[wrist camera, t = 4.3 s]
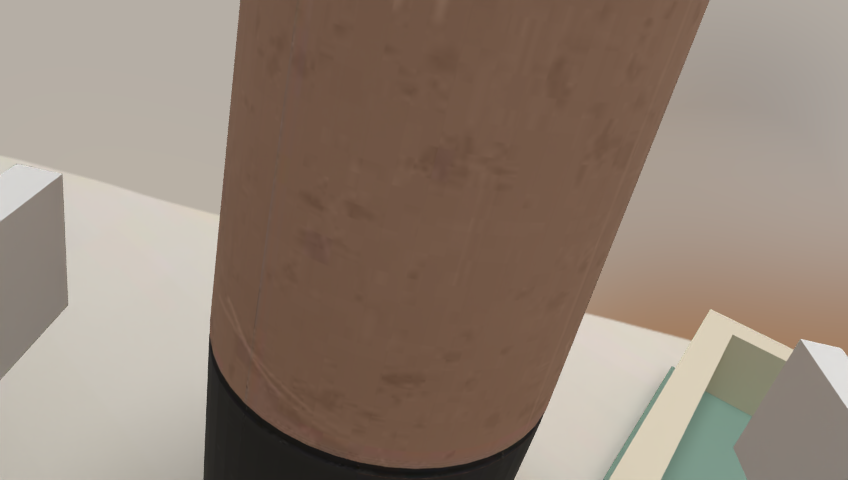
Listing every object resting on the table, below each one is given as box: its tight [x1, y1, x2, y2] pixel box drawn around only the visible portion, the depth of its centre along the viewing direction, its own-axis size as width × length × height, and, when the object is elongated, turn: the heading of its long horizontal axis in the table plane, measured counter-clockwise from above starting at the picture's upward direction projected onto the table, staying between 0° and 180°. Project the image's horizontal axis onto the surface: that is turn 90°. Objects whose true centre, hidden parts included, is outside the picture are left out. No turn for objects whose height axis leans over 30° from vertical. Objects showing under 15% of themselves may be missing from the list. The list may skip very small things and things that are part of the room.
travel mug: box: [204, 0, 709, 480], centre depth 15 cm, size 8×8×20 cm
